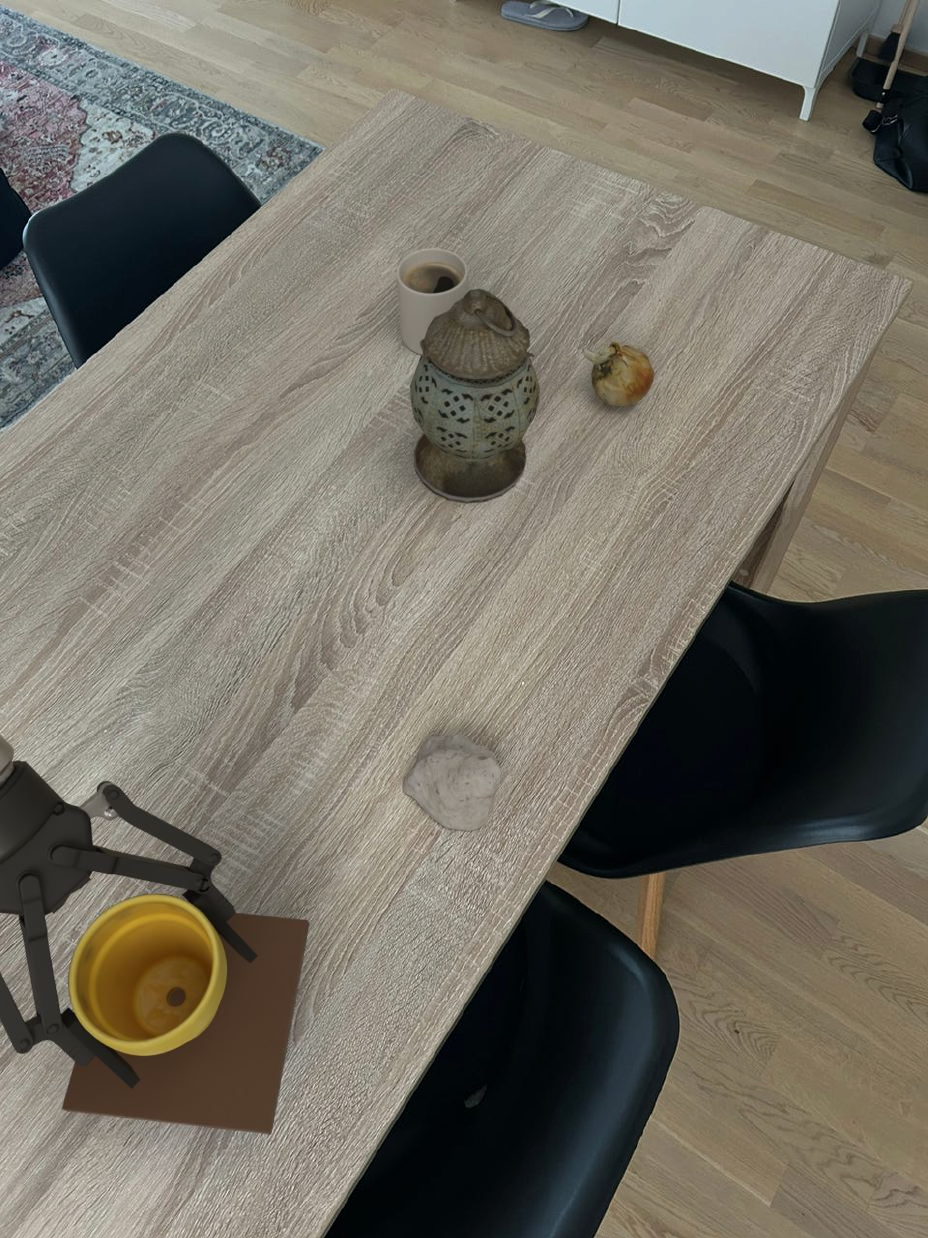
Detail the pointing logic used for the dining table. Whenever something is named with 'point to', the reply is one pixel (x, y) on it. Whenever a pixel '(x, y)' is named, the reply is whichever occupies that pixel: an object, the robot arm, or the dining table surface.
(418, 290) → the mug
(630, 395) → the onion
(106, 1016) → the flower pot
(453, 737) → the stone
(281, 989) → the stand
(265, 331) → the dining table surface
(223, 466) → the dining table surface
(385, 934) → the dining table surface
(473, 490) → the lantern
